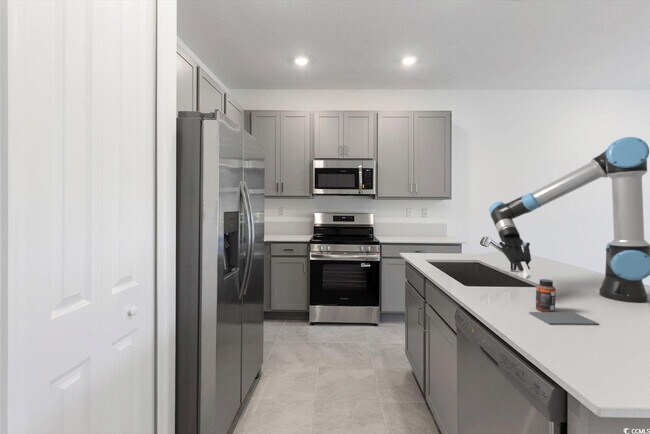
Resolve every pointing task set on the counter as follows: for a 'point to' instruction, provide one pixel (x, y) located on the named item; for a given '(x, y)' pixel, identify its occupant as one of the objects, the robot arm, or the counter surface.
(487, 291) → the counter surface
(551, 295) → the supplement bottle
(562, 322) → the mat
